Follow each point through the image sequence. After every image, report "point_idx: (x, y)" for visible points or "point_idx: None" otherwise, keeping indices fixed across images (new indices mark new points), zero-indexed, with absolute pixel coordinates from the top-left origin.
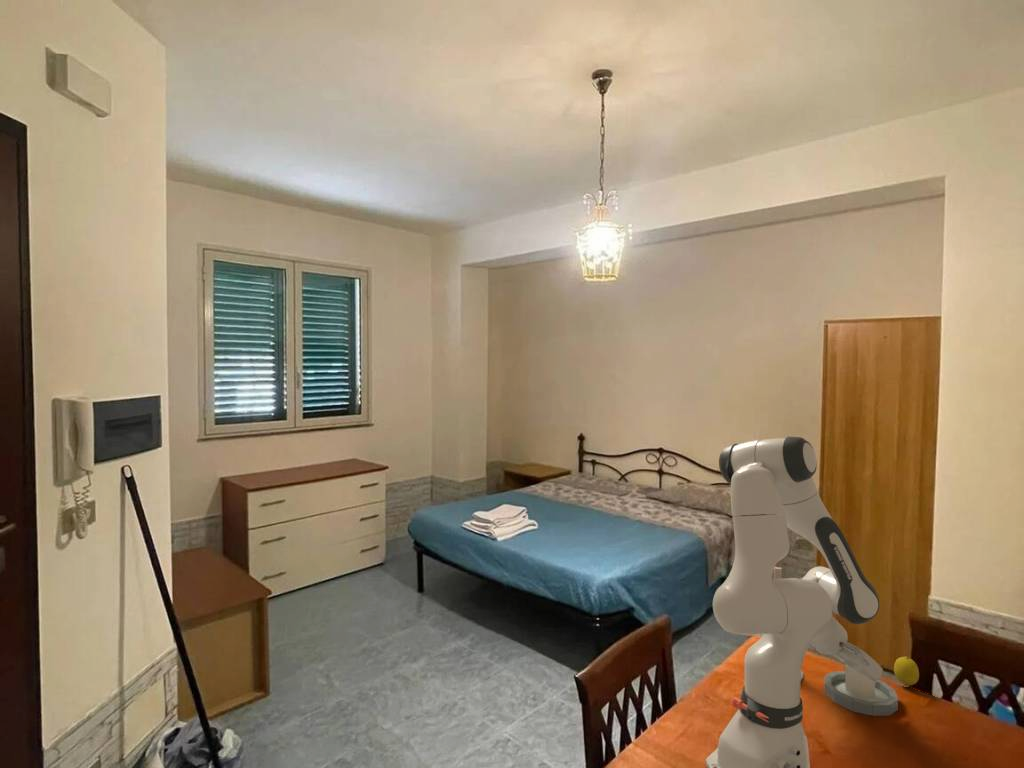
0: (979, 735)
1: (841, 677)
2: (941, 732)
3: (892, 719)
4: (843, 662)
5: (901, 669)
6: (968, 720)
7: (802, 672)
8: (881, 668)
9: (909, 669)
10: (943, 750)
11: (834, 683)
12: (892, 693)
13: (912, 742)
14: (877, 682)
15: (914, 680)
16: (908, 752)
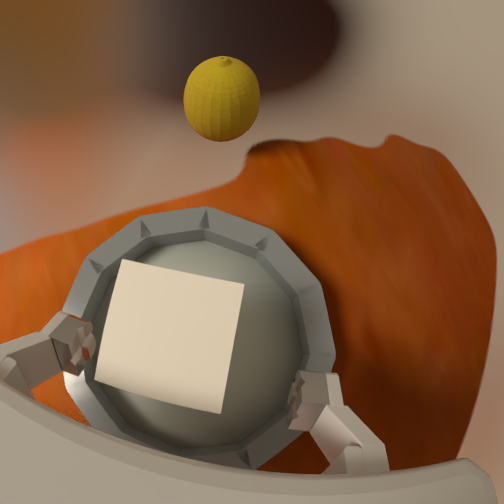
0: (443, 211)
1: (91, 311)
2: (424, 285)
3: (341, 367)
4: (84, 360)
5: (225, 112)
6: (396, 167)
7: None
8: (492, 488)
9: (248, 98)
10: (466, 358)
11: (97, 359)
12: (281, 259)
13: (428, 410)
14: (194, 230)
15: (255, 118)
16: (442, 452)
